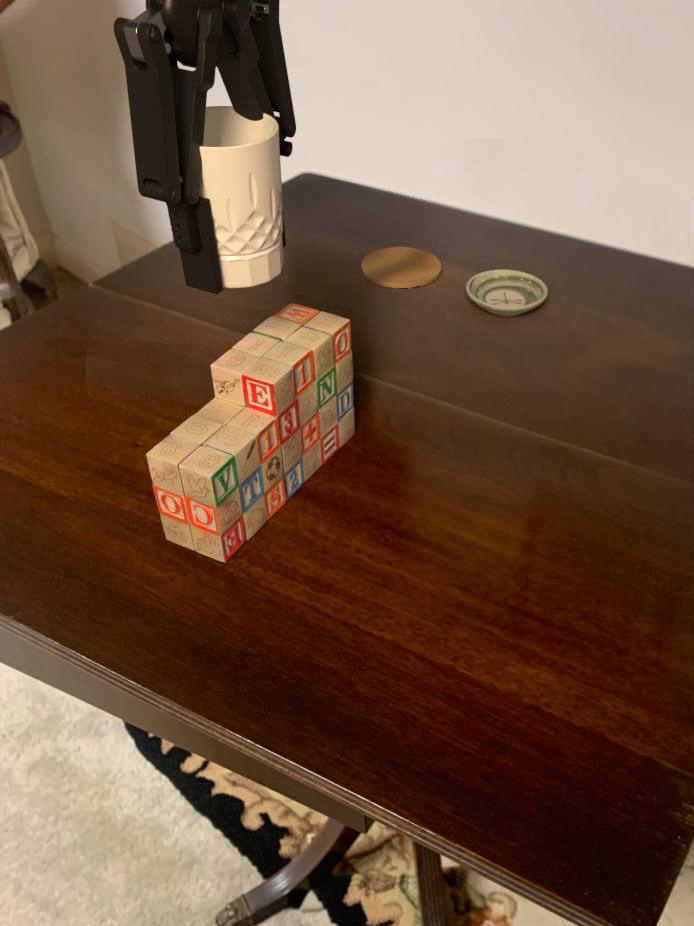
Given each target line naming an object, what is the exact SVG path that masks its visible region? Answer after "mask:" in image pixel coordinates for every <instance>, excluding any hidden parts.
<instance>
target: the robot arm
mask: <svg viewBox="0 0 694 926" xmlns="http://www.w3.org/2000/svg"><path fill="white" fill-rule="evenodd" d="M113 34H114V37H115V39H116V43H117V46H118V49H119V52H120V55H121V58H122V61H123V63H124V71H125V80H126V89H127V99H128V107H129V109H128V110H129V116H130V127H131V133H132V134H131V137H132V145H133V155H134V163H135V164H134V165H135V173H136V182H137V189H138V193H139V195H140V196H142V197H143V198H147V199H151V200H154V201H158V202H162V203H165V204H166V208H167V214H168V218H169V223H170V224H169V225H170V230H171V234H172V240H173V243H174V245H175V247H176V248H177V249H179V255H180V260H181V265H182V270H183V276H184V281H185V286H186V287H190V288H193V289H196V290H200V291H203V292H206V293H210V294H213V295H219V294H221V292H223V291H224V287H223V286H222V279H221V273H220V266H219V260H218V253H217V247H216V240H215V234H214V227H213V221H212V214H211V208H210V201H209V199H208V198H204V197H200V196H199V194H200V181H201V167H202V159H201V153H200V146H203V140H204V127H205V114H206V107H207V100H208V99H207V98H208V91H209V90H211V89H213V87H214V85H215V80H216V69H217V71H218V73H219V75H220V78H221V80H222V83H223V86H224V88H225V91H226V93H227V95H228V99H229V101H230V103H231V106H233V109H234V111H235V112H236V113H238V114H239V115H241V116H242V117H244V118H246V119H248V120H252V121H259V120H262V119H263V114H264V113H266V114H268V115H270V116H271V117H273V118H274V119H275V120H276V121H277V123H278V125H279V144H280V157H286V158H289V157H290V156H291V155H292V153H293V149H294V148H293V147H294V146H293V142H292V141H288V140H286V139H287V138H290V139H292V138H294V136H295V135H296V133H297V122H296V117H295V110H294V109H295V108H294V105H293V97H292V92H291V86H290V80H289V74H288V68H287V61H286V55H285V49H284V42H283V37H282V30H281V24H280V0H145V10H144V11H143V12H141V13H140V14H139V15H137V16H136V17H134V18H132V19H131V18H128V17H127V18H126V17H122V16H119V17H116V19H115V20H114V22H113ZM178 63H179V64H181V66H182V67H187V68H193V69H194V70H189V69H186V68H185V69H184V68H180V67H179V66H178V65H179V64H178ZM275 113H278V115H279V116H278V115H275ZM180 177H181V178H182V180H183V182H180ZM281 182H282V180H281ZM282 183H283V182H282ZM282 215H283V216H284V209H283V206H282ZM285 230H286V228H285V218H284V217H283V233H282V243H283V249H284V248H285V247H287V241H286V240H287V239H286V231H285Z"/></svg>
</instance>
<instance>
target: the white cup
mask: <svg viewBox="0 0 694 926" xmlns="http://www.w3.org/2000/svg"><path fill="white" fill-rule="evenodd" d="M200 153H201V159H202V167H201V181H200V194H199V196H200V197H204V198H208V199H209V201H210V208H211V214H212V221H213V227H214V234H215V240H216V247H217V253H218V260H219V266H220V273H221V279H222V286H223V288H226V289H227V288H228V289H239V288H241V289H242V288H253V287H256V286H259V285H262V284H265V283H269V282H271V281H272V280H273V279H275V278H276V277H277V276H279V275H280V274H281V273H282V269H283V266H284V248H283V243H282V233H283V218H284V214H283V215H282V207H283V182H281V181H282V164H281V163H282V162H281V156H280V144H279V125H278V123H277V121H276V120H275V119H274V118H273V117H271V116H270V115H268V114H266V113H264V114H263V119H262V120H259V121H252V120H248V119H246V118H244V117H242V116H241V115H239V114H238V113H236V112H235V111H234V109H233V106H232V105H210V106H206V114H205V127H204V140H203V146H200ZM180 182H183V180H182V178H181V177H180Z"/></svg>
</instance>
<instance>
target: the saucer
mask: <svg viewBox="0 0 694 926" xmlns="http://www.w3.org/2000/svg"><path fill="white" fill-rule="evenodd" d="M465 292H466V295H467V297H468V298H469V299H470V300H471V301H472V302H473V303H474V304H475V305H476V306H478V307H479V308H480V309H482V310H483V311H486V312H489V313H490V314H491V315H494V316H497V317H498V316H499V317H508V318H509V317H516V315H517V316H520V315H522V314H525V313H528V312H530V311H532V310H534V309H536V308H537V307H538V306H540V305H542V304H543V303H544V302H545V301H546V300H547V298H548V295H549V289H548V286H547V285H546V283H545V282H544V280H542V279H540V278H539V277H537V276H535V275H533V274H531V273H529V272H524V271H520V270H516V269H505V268H504V269H501V268H500V269H490V270H485V271H482V272H479V273H476V274H475V275H473V276H472V277H470V278H469V279H468V281H467V282H466V284H465ZM521 313H522V314H521ZM519 314H520V315H519Z"/></svg>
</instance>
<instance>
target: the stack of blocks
mask: <svg viewBox="0 0 694 926" xmlns="http://www.w3.org/2000/svg"><path fill="white" fill-rule="evenodd" d="M351 326H352V325H351V320H350V319H349V318H345V317H343V316H339V315H336V314H333V313H330V312H327V311H323V310H321V311H320V310H318V309H315V308H312V307H309V306H305V305H301V304H298V303H293V302H290V303H289V304H287V305H286V306H285V307H284V308H282V309H281V310H280V311H278V312H276V314H274V315H271V316H269V317H268V318H266V319H265V320H264V321H263V322H261V323H260V324H259V325H258V326H256V327H255V328H254V329H253V330H252V332H249V333H248V334H246V335H245V336H244V337H243V338H241V339H240V340H239V341H238V342H237V343H235V344H234V345H232V347H231V348H230V349H229V350H227V351H226V352H225V353H224V354H222V355H221V356H220V357H219V358H217V359H216V360H215V361H214V362H212V363H211V364H210V373H211V378H212V384H213V385H212V386H213V391H214V397H213V398H212V399H211V400H210V401H209V402H208V403H206V404H205V405H203V407H201V408H200V409H199V410H198V411H197V412H196V413H194V414H191V415H190V416H189V417H188V418H187V419H186V420H185V421H183V422H181V423H180V425H178V426H177V427H175V428H174V429H173V430H172V431H171V432H169V435H167V436H166V437H165V438H164V439H162V440H160V441H159V443H157V444H155V446H153V448H151V449H150V450H148V451H147V452H146V454H145V456H146V461H147V464H148V470H149V473H150V478H151V482H152V485H151V486H152V490H153V495H154V499H155V501H156V502H155V503H156V506H157V511H158V513H159V517H160V521H161V524H162V528H163V533H164V535H165V536H164V537H165V539H166V540H167V541H169V542H171V543H173V544H176V545H179V546H181V547H184V548H186V549H189V550H190V551H191V550H192V551H195V552H196V553H198V554H201V555H203V556H206V557H208V558H211V559H213V560H215V561H218V562H222V563H226V562H227V561H229V560H230V559H231V557H232V556H234V555H235V553H236V552H237V551H238V550H240V549H241V547H242V546H243V545H244V544H245V543H246V542H248V541H250V539H251V538H252V537H253V536H254V535H255V534H256V533H257V532H258V531H259V530H260V529H261V528H263V526H265V524H266V523H267V521H269V520H270V519H271V518H272V517H273V516H274V515H275V514H276V513H277V512H278V511H280V509H281V508H282V507H284V505H286V503H287V501H288V500H289V499H290V498H291V497H292V496H293V495H294V494H295V493H296V492H297V491H298V490H299V489H300V488H301V487H302V486H303V485H304V483H305V482H307V481H308V480H309V479H310V478H311V477H312V476H313V474H314V473H316V472H317V471H318V470H319V469H320V468H321V466H323V465H324V464H326V463H327V462H328V460H330V459H331V458H332V456H334V455H335V454H336V453H337V452H338V451H339V449H340V448H342V447H343V446H344V445H345V444H346V443H347V442H348V441H349V440H350V439H351V438H352V437H353V436H354V435H355V433H356V424H355V423H356V420H355V418H356V417H355V407H354V404H355V403H354V381H353V379H354V363H353V362H354V360H353V350H352V331H351V329H352V327H351Z"/></svg>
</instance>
